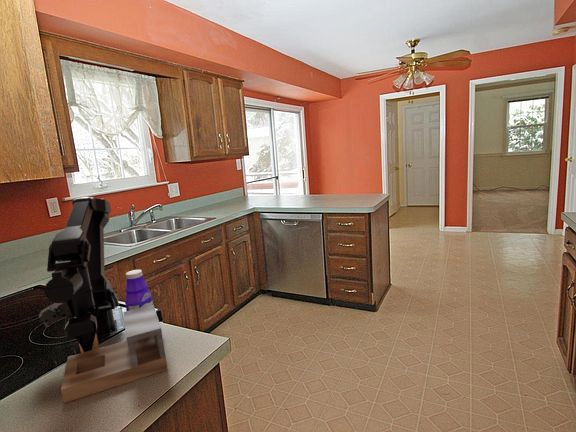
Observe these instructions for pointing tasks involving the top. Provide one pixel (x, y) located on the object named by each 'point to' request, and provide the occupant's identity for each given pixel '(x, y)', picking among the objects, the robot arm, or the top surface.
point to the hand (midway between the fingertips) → (89, 346)
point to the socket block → (118, 358)
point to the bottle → (137, 291)
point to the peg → (95, 345)
